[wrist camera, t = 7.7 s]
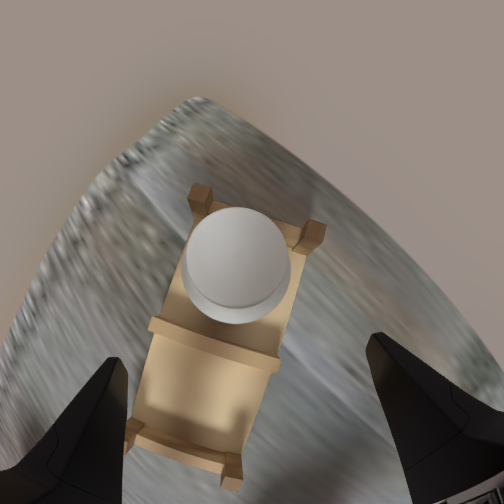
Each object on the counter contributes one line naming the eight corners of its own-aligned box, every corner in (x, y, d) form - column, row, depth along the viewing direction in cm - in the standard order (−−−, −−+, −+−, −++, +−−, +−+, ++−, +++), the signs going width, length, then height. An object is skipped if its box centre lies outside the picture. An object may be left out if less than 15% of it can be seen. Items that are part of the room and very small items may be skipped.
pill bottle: (274, 319, 19) (312, 320, 10) (199, 323, 19) (169, 328, 10) (268, 247, 21) (298, 188, 11) (197, 250, 20) (169, 193, 11)
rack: (307, 245, 22) (326, 224, 17) (236, 459, 17) (237, 491, 12) (201, 211, 22) (194, 182, 17) (132, 424, 17) (109, 447, 13)
